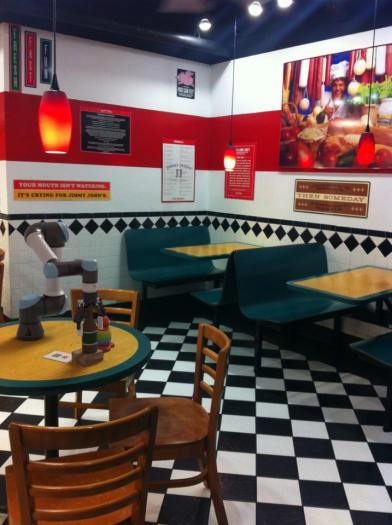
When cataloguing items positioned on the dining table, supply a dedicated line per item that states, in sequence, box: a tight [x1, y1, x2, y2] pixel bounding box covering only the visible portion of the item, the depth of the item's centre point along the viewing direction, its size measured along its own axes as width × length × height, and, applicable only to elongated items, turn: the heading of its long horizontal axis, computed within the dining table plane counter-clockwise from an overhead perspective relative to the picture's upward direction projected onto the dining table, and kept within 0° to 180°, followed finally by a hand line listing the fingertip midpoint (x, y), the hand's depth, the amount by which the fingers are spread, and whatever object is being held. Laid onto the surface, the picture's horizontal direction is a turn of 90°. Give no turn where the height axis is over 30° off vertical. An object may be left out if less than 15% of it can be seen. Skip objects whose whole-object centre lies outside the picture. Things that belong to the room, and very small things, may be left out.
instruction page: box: [42, 350, 72, 364], centre depth 258 cm, size 15×10×1 cm, turn 66°
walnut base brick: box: [70, 347, 104, 367], centre depth 254 cm, size 11×11×5 cm
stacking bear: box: [95, 315, 116, 352], centre depth 271 cm, size 11×10×18 cm
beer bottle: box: [81, 309, 98, 354], centre depth 251 cm, size 8×8×24 cm
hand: (90, 332), depth 251 cm, fingers open, 13 cm apart
